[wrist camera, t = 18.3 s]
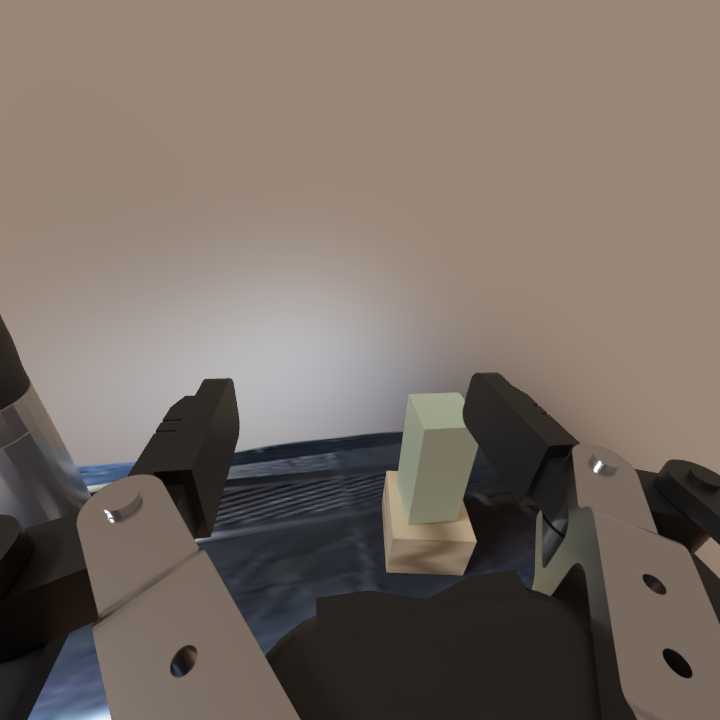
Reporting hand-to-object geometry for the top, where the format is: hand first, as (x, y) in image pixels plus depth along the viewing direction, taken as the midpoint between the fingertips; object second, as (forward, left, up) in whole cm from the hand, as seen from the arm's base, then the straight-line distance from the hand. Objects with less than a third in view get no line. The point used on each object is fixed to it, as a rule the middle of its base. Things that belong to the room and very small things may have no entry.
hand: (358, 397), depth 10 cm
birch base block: (+10, +11, -28) cm, 32 cm away
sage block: (+10, +12, -22) cm, 27 cm away
